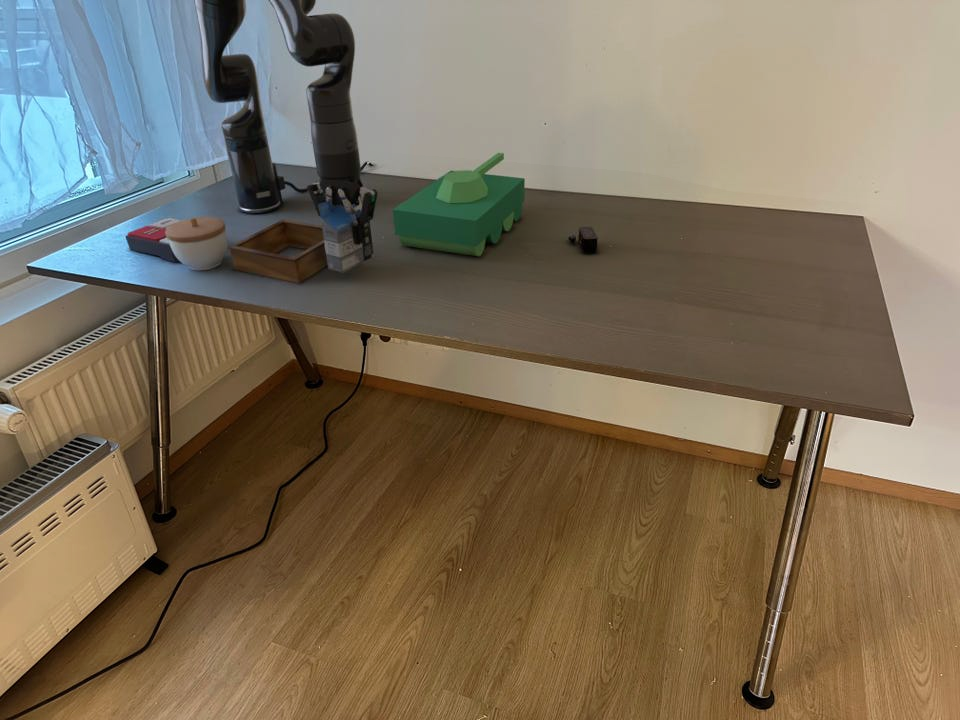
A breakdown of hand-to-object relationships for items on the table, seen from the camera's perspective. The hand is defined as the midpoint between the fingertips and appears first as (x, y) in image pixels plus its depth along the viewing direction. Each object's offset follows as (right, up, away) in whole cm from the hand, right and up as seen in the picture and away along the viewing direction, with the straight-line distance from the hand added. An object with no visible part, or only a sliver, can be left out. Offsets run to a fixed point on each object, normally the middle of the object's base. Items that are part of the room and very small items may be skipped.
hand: (348, 240), depth 122 cm
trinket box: (-30, -3, +9) cm, 31 cm away
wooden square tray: (-13, -2, +9) cm, 16 cm away
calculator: (-40, +2, +16) cm, 43 cm away
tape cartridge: (0, -4, +3) cm, 5 cm away
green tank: (+22, +7, +22) cm, 32 cm away
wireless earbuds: (+45, +1, +11) cm, 46 cm away
